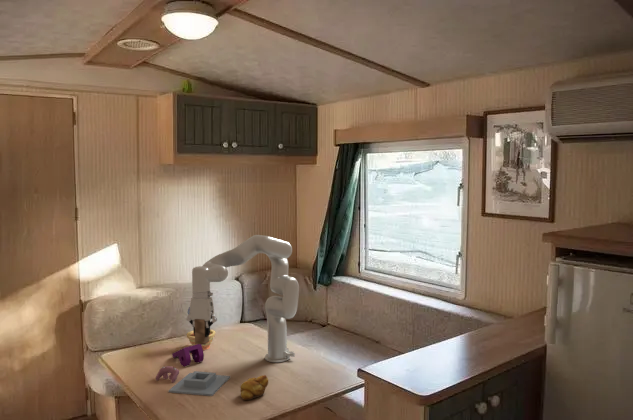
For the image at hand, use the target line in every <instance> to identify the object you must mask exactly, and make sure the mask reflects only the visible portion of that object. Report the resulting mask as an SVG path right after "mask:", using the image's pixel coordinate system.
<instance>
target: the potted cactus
mask: <svg viewBox="0 0 633 420" xmlns="http://www.w3.org/2000/svg"><path fill="white" fill-rule="evenodd" d="M189 312H190V306H189V307H188V309H187V316H188V315H189ZM215 335H216V331H215V330H214V329H210V334H209V342H207V343H206V344H205V345H203V344H201V345H202V349H203V351H207V350H209V349H210V348H211V344H212V342H213V339H214V337H215ZM186 338H187V339H188V341H189V343H190V344H191V346H193V345H197V344H195V336H194V332H193V330H191V331H188V332H186Z"/></svg>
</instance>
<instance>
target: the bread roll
mask: <svg viewBox="0 0 633 420" xmlns="http://www.w3.org/2000/svg"><path fill="white" fill-rule="evenodd" d="M268 385H269V378H268V376H267V375H265V374H263V375H260V376H257V377H250V378H248V379H247V380H246V381H243V382H242V383H241V384H240V386H239V388H240V398H241V399H242V400H244V401H249V400H252V399H253V398H258V397H259V398H260V397H262V396H263V395H264V394H265V392H266V388H267V386H268Z"/></svg>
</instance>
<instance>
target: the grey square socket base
mask: <svg viewBox="0 0 633 420" xmlns="http://www.w3.org/2000/svg"><path fill="white" fill-rule="evenodd" d="M229 379H231V375H223V374H222V375H221V374H217V372H211V371H209V372H208V371H197V370H196V371H193V372H188V374H186V375H185V376H184V377H183V378H182V379H180V380H179V381H178V382H177V383H175V385H173V386H172V387H171V388H170V389H168V393H171V394H173V393H174V394H184V395H197V396H208V397H212V396H214V395H216V393H217V392H218V391H219V390H220V389H221V388H222V387H223V386H224V385H225V384H226V383H227V382H228V381H229ZM225 382H226V383H225ZM224 383H225V384H224ZM223 384H224V385H223ZM222 385H223V386H222ZM220 387H221V388H220Z"/></svg>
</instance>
